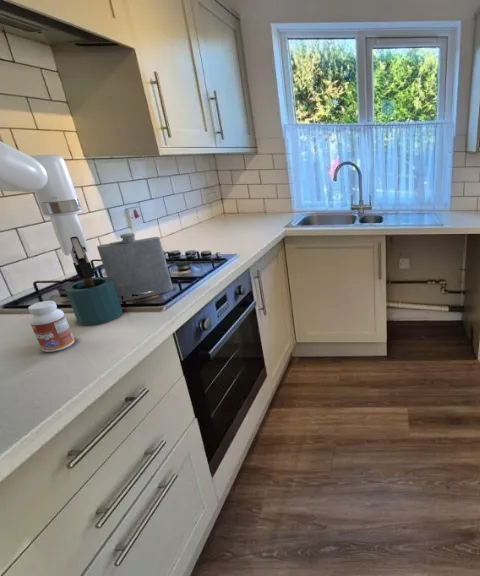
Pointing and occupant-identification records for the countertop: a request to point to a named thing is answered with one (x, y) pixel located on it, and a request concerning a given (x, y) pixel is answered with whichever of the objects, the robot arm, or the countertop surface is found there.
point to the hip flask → (136, 266)
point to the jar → (94, 301)
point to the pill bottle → (50, 326)
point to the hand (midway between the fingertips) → (86, 276)
